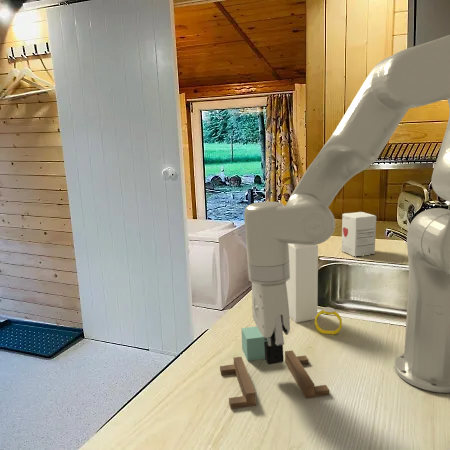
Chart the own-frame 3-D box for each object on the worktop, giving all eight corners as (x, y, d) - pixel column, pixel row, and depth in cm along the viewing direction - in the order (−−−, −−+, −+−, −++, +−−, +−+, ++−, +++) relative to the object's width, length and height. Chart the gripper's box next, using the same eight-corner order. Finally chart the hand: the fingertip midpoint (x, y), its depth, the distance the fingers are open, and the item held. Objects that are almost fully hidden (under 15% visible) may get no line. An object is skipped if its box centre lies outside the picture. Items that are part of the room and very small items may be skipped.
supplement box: (340, 251, 160) (341, 213, 156) (360, 248, 162) (361, 211, 159) (354, 257, 151) (356, 217, 148) (375, 254, 154) (377, 215, 151)
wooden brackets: (305, 359, 85) (305, 348, 85) (329, 395, 74) (329, 382, 73) (220, 370, 83) (219, 359, 82) (230, 408, 71) (230, 395, 70)
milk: (317, 319, 104) (319, 233, 99) (295, 323, 102) (296, 236, 97) (305, 309, 109) (306, 228, 104) (284, 313, 107) (284, 230, 103)
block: (264, 346, 91) (263, 325, 90) (270, 358, 87) (270, 336, 86) (242, 349, 91) (241, 328, 90) (247, 361, 86) (246, 339, 85)
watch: (340, 332, 97) (343, 309, 95) (340, 338, 94) (342, 314, 93) (314, 328, 99) (317, 305, 97) (313, 333, 96) (315, 309, 95)
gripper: (240, 261, 82) (247, 345, 86) (258, 287, 68) (265, 387, 72) (277, 256, 83) (281, 340, 87) (302, 280, 69) (307, 380, 73)
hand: (274, 361), depth 79 cm, fingers closed
